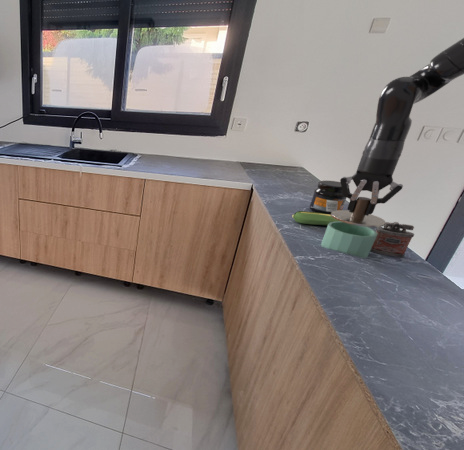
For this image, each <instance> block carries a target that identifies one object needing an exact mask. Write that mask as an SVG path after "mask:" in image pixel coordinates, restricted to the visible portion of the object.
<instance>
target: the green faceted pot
mask: <svg viewBox="0 0 464 450" xmlns="http://www.w3.org/2000/svg"><path fill="white" fill-rule="evenodd" d="M376 231H377V230H376V229H373V228H372V227H363V226H356V225H352V224H348V223H344V222H330V223H329V224H328V225H326V228H325V231H324V235H323V238H322V240H321V243H320V246H321V248H325V249H327V250H331V251H336V252H339V253H343V254H346V255H350V256H354V257H358V258H361V259H367V258H368V257H369V254H370V253H371V251H370V250H371V248H372V246H373V243H374V241H375V239H376V236H377V234H378V233H377V232H376Z"/></svg>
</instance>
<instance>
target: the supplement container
mask: <svg viewBox="0 0 464 450" xmlns="http://www.w3.org/2000/svg"><path fill="white" fill-rule="evenodd" d="M347 199H348V198H347V197H344V196H343V191H342V187H341V182H340V181H336V180H320V181H318V184H317V187H316V188H315V189H314V192H313V195H312V198H311V201H310V204H309V210H310V211H311V212H316V213H323V214H330V215H331V212H333V211H336V210H344V209H343V208H344V206H345V203H346V200H347Z"/></svg>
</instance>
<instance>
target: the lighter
mask: <svg viewBox="0 0 464 450" xmlns="http://www.w3.org/2000/svg"><path fill="white" fill-rule="evenodd" d="M385 222H386V223H385V225H384V226H382V227H376V229H375V231H376V232H377V233H378V234H377V236H376V239H375V241H374V243H373V246H372V248H371V250H370V252H372V253H376V254H379V255H380V254H381V255H385V256H390V257H397V258H404V257H405V255H406V254H405V253H406V251H407V249H408V247H409V246H410V245H409V244H410V242H411V241H412V238H414V236H415V233H414V232H411V231H414V229H415V226H414V225H413V224H405V223H399V221H398V222H397V221H393V222H388V221H385Z"/></svg>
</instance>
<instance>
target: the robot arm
mask: <svg viewBox="0 0 464 450" xmlns="http://www.w3.org/2000/svg"><path fill="white" fill-rule="evenodd" d="M463 75H464V37H463V38H461V39H459V40H457V41H456V42H455V43H453V44H452V45H450V46H448V47H447V48H445V49H444V50H442V51H441V52H439V53H438V54H436V55H435V56H434V57H433V58H432V59H431V60H430V62H429V63H428V64H427V65H425V66H424V67H422V68H420V69H419V70H418V71H416V72H415V73H413V74H411V75H409V76H400V77H397V78H394V79H393V80H391V81H390V82H388V83H387V84H386V85H385V86H384V87H383V89H382V91H381V93H380V94H379V98H378V100H377V101H378V102H377V108H376V115H375V123H374V125H373V128H372V130H371V133H370V136H369V139H368V141H367V142H366V144H365V147H364V149H363V150H362V153H361V158H360V160H359V163H358V165H357V169H356V171H355V172H354V174H352V175H350V176H342V177H341V178H340V179H339V182H341V187H342V191H343V196H344V197H347V198H346V199H349V202H348V205H347V209H346V210H349V212H351V213H352V212H353V209H354V206H355V204H356V201H357V198H358V197H359V195H360V194H361V193H362V192H363V191H366V192H367V191H368V192H369V193H371V197H370V199H371V202H370V203H369V206H368V208H367V211H366V214H365V215H367V216H368V215H369V214H371V215H373V213H374V211H375V209H376V206H377V205H378V204H386V203H387V202H389V201H390V200H391V199H392V198H393V197H394V196H395V195H396V194H398V193H399V192H400V191H402V190H403V187H404V185H403V184H402V183H397V182H395V181H394V179H393V175H394V172H395V170H396V167H397V165H398V162H399V160H400V158H401V156H402V153H403V150H404V147H405V142H406V139H407V137H408V134H409V132H410V129H411V127H412V123H413V120H412V118H411V117H410V116H411V113H412V109H413V107H414V105H415V104H418V103H420V102H421V101H423V100H425V99H426V98H428V97H430V96H431V95H433V94H435V93H436V92H438V91H439V90H440V89H442V88H444V87H445V86H446V85H448V84H449V83H451V82H452V81H454V80H456V79H457V78H459V77H461V76H463ZM352 181H353V183H354V185H355V187H356V188H355V190H354V191H353V193H352V192H351V190H350V185H349V184H351V182H352ZM388 186H390V187H389V192H387V193H386V194H385V195H384V196H383V197H380V191H381V190H383V189H385V188H386V187H388Z"/></svg>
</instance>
